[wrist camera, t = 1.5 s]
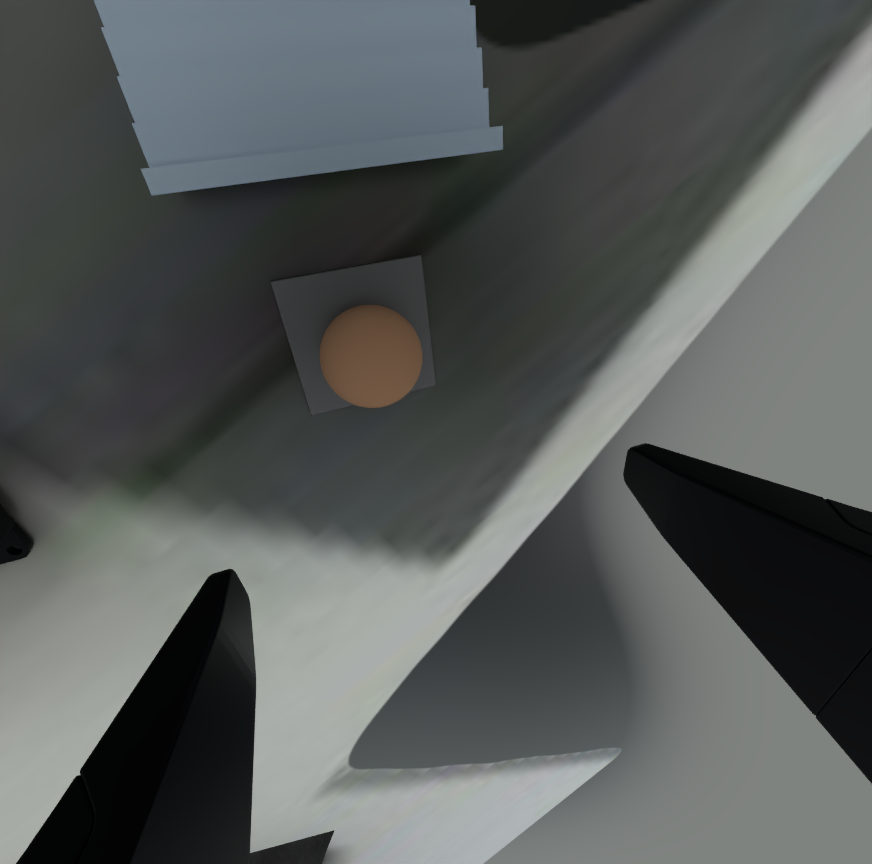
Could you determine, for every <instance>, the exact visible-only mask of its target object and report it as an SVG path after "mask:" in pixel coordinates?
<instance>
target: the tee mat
mask: <svg viewBox="0 0 872 864" xmlns="http://www.w3.org/2000/svg"><path fill="white" fill-rule="evenodd" d="M271 285H272V288H273V291H274V295H275V298H276V301H277V305H278V308H279V311H280V314H281V318H282V321H283V324H284V327H285V331H286V334H287V337H288V341H289V344H290V347H291V350H292V354H293V357H294V360H295V363H296V367H297V370H298V373H299V377H300V380H301V383H302V386H303V390H304V393H305V396H306V400H307V403H308V406H309V409H310V413H311V416H312V415H316V414H320V413H325V412H329V411H333V410H337V409H341V408H345V407H350V406H354V404H351V403H349V402H347V401H346V400H344V399H342V398H341V397H340V396H339V395H337V394H336V393H335V392H334V391H333V389H332V388H331V387H330V386H329V384H328V383H327V381H326V379H325V377H324V375H323V372H322V369H321V365H320V345H321V341H322V338H323V336H324V333H325V331H326V329H327V327H328V326H329V325H330V323H331V322H332V321H333V320H334V319H335V318H336V317H337V316H338V315H340V314H341V313H343V312H344V311H346V310H348V309H350V308H353V307H356V306H360V305H380V306H383V307H387V308H389V309H392V310H394V311H396V312H397V313H399V314H400V315H401V316H403V317H404V318H405V319H406V320H407V321H408V322H409V323H410V324H411V325H412V327H413V328H414V330H415V332H416V333H417V335H418V337H419V340H420V343H421V348H422V357H423V358H422V367H421V372H420V375H419V377H418V379H417V381H416V383H415V385H414V386H413V388H412V389H411V390H410V391H409V392H412V391H416V390H420V389H424V388H429V387H433V386H436V381H435V372H434V363H433V354H432V346H431V337H430V328H429V319H428V310H427V301H426V292H425V283H424V274H423V266H422V257H421V255H415V256H409V257H404V258H398V259H392V260H387V261H381V262H375V263H370V264H364V265H358V266H353V267H347V268H341V269H336V270H330V271H324V272H319V273H313V274H307V275H302V276H296V277H290V278H284V279H279V280H273V281H271Z"/></svg>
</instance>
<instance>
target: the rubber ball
mask: <svg viewBox="0 0 872 864" xmlns="http://www.w3.org/2000/svg"><path fill="white" fill-rule="evenodd" d="M422 358H423V357H422V348H421V343H420V340H419V337H418V335H417V333H416V332H415V330H414V328H413V327H412V325H411V324H410V323H409V322H408V321H407V320H406V319H405V318H404V317H403V316H401V315H400V314H399V313H397V312H396V311H394V310H392V309H389V308H387V307H383V306H380V305H360V306H356V307H353V308H350V309H348V310H346V311H344V312H343V313H341V314H340V315H338V316H337V317H336V318H335V319H334V320H333V321H332V322H331V323H330V325H329V326H328V327H327V329H326V331H325V333H324V336H323V338H322V341H321V345H320V365H321V369H322V372H323V375H324V377H325V379H326V381H327V383H328V384H329V386H330V387H331V388H332V389H333V391H334V392H335V393H336V394H337V395H339V396H340V397H341V398H342V399H344V400H346V401H347V402H349V403H351V404H354V405H357V406H360V407H366V408H379V407H384V406H388V405H391V404H393V403H395V402H397V401H399V400H400V399H402V398H403V397H404V396H405V395H406V394H408V393H409V391H410V390H411V389H412V388H413V386H414V385H415V383H416V381H417V379H418V377H419V375H420V372H421V367H422Z"/></svg>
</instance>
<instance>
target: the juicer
mask: <svg viewBox="0 0 872 864" xmlns="http://www.w3.org/2000/svg"><path fill="white" fill-rule="evenodd" d="M333 832H334V831H330V832H327V833H323V834H319V835H316V836H312V837H308V838H305V839H301V840H297V841H294V842H290V843H286V844H283V845H279V846H275V847H272V848H268V849H264V850H261V851H257V852H253V853H250V861H249V864H322V861H323V858H324V856H325V853H326V851H327V848H328V845H329V843H330V840H331V838H332V835H333Z"/></svg>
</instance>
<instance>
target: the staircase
mask: <svg viewBox="0 0 872 864" xmlns="http://www.w3.org/2000/svg"><path fill="white" fill-rule="evenodd" d="M94 2H95V5H96V7H97V10H98V12H99V15H100V17H101V20H102V23H103V25H104V27H101V29H102V31H103V34H104V37H105V39H106V42H107V44H108V47H109V49H110V52H111V54H112V57H113V59H114V62H115V65H116V67H117V70H118V72H119V75H120V76H117V79H118V81H119V84H120V86H121V89H122V91H123V94H124V96H125V99H126V101H127V104H128V106H129V109H130V111H131V114H132V116H133V119H134V121H135V123H132V125H133V128H134V130H135V133H136V135H137V138H138V140H139V143H140V145H141V148H142V150H143V153H144V155H145V158H146V160H147V163H148V165H149V168H144V169H141V171H142V173H143V176H144V178H145V180H146V183H147V185H148V188H149V190H150V193H151V195H160V194H168V193H175V192H183V191H191V190H198V189H206V188H213V187H221V186H229V185H236V184H244V183H252V182H259V181H267V180H275V179H282V178H290V177H298V176H305V175H313V174H320V173H328V172H336V171H343V170H351V169H359V168H366V167H374V166H382V165H389V164H397V163H404V162H412V161H420V160H427V159H435V158H443V157H450V156H458V155H466V154H473V153H481V152H488V151H496V150H503V126H497V127H489V100H488V88H483V71H482V47H481V48H477V45H476V19H475V6H470V0H94Z"/></svg>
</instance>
